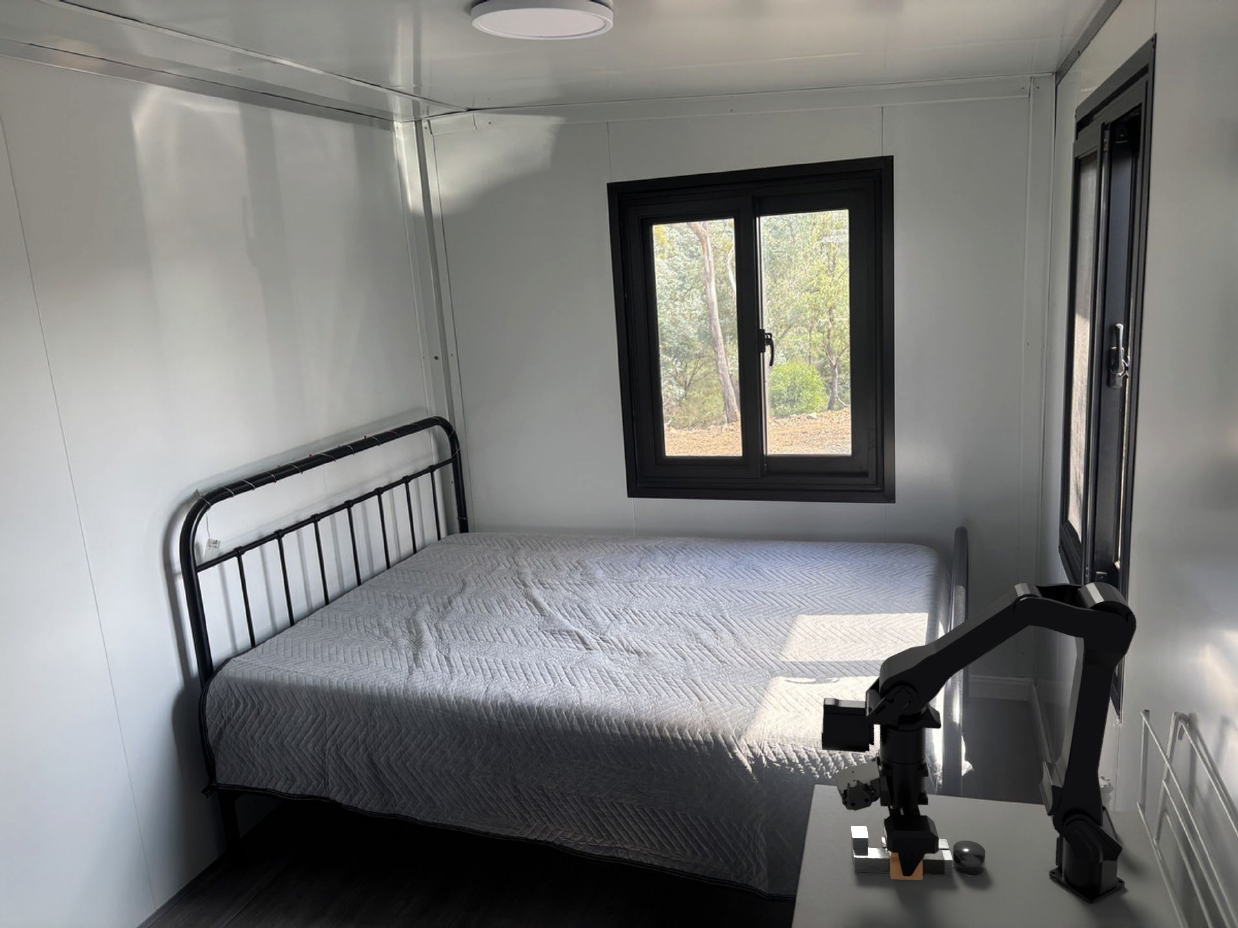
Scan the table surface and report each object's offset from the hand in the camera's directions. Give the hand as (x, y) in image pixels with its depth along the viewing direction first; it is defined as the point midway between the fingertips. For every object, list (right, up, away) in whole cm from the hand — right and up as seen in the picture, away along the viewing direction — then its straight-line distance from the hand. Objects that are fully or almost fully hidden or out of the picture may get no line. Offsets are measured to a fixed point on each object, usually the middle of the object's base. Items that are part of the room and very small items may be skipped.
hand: (902, 856), depth 128 cm
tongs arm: (0, -1, 0) cm, 1 cm away
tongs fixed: (+4, -1, 0) cm, 4 cm away
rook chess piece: (+28, +2, +4) cm, 28 cm away
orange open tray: (0, -1, 0) cm, 1 cm away
